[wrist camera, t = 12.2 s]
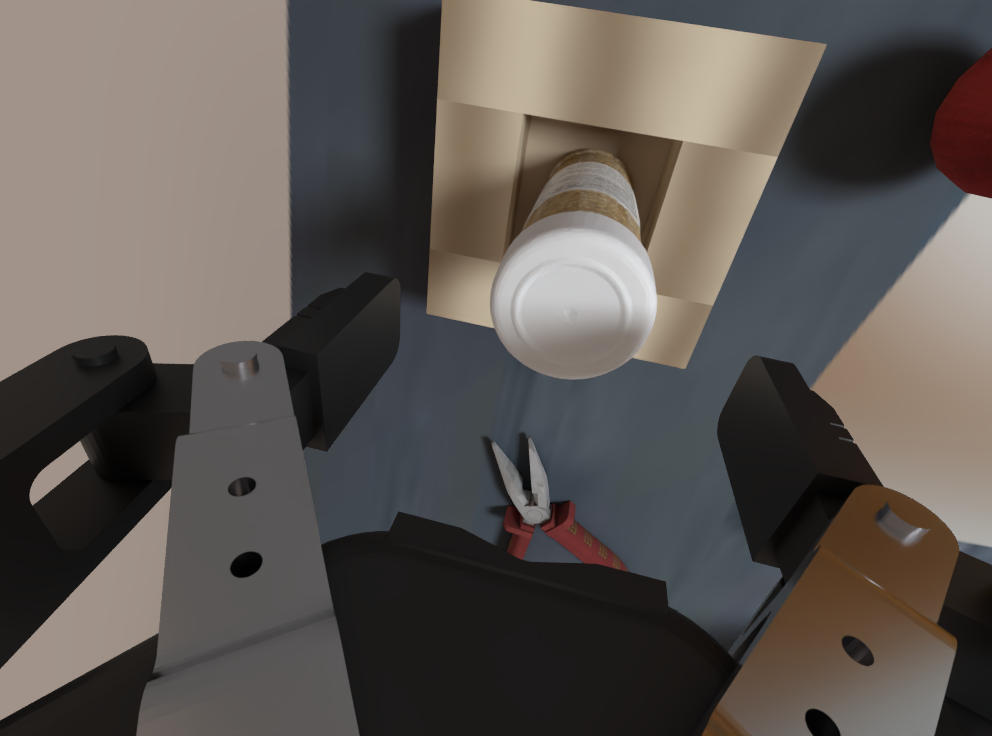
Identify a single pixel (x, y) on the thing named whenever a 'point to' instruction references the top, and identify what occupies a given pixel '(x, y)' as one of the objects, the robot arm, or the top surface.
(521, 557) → the pliers
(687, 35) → the holder
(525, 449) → the top surface
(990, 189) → the onion
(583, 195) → the sprinkles bottle
